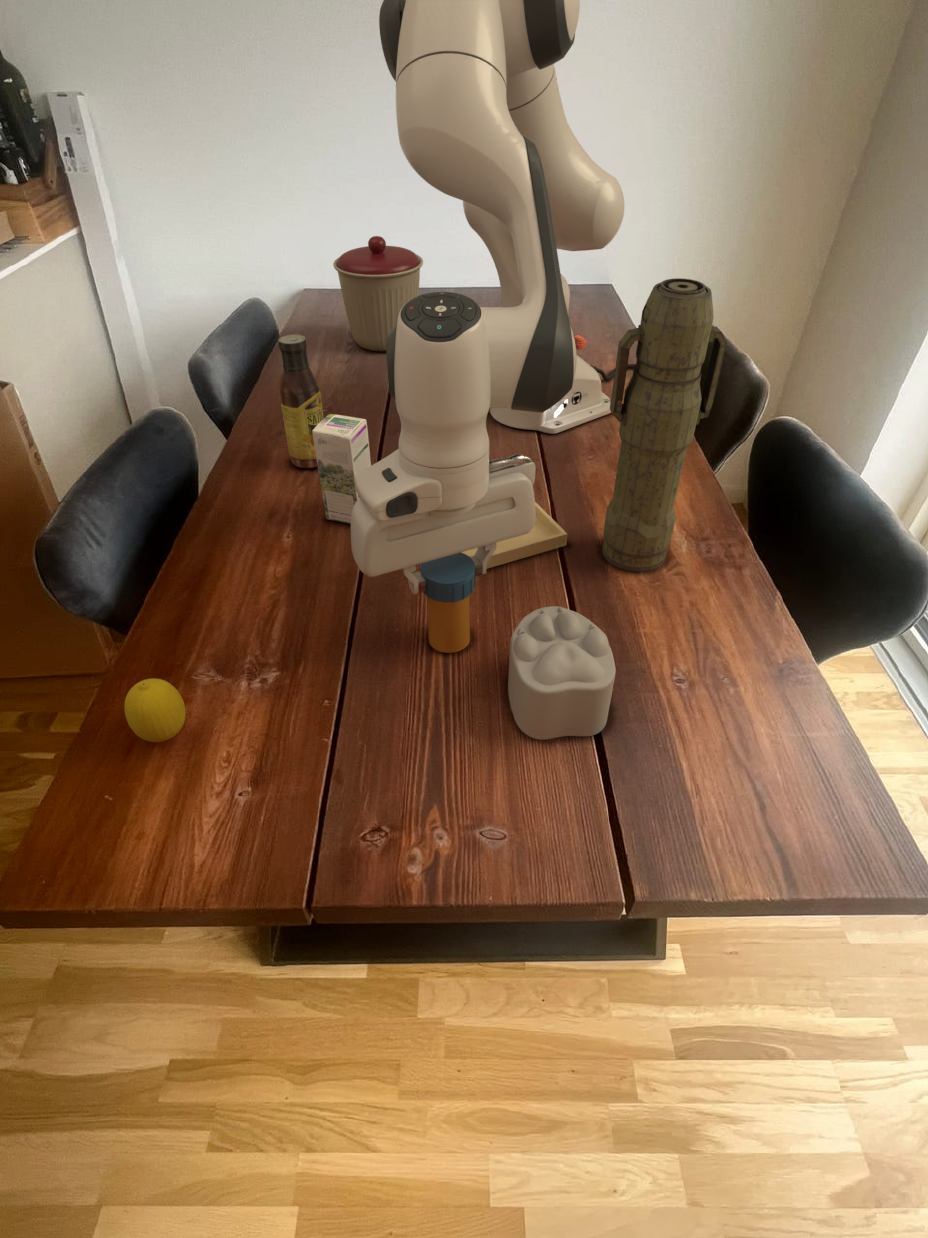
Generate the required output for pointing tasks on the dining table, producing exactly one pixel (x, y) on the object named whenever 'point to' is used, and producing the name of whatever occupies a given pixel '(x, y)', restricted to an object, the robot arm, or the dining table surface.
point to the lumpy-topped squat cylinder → (559, 674)
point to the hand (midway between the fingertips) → (447, 581)
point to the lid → (449, 577)
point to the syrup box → (340, 462)
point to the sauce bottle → (299, 401)
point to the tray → (528, 541)
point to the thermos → (659, 418)
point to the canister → (377, 289)
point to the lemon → (154, 710)
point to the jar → (448, 624)
